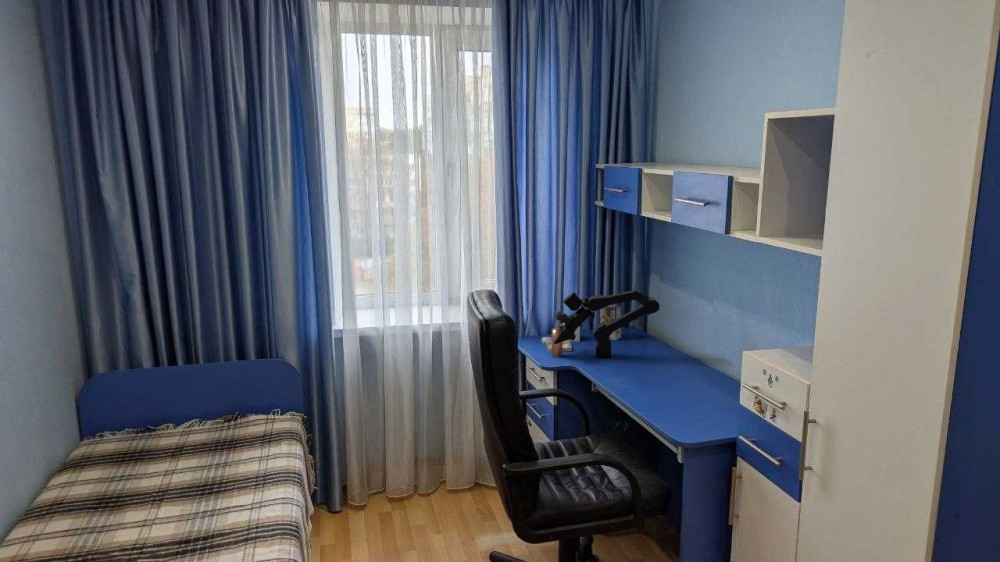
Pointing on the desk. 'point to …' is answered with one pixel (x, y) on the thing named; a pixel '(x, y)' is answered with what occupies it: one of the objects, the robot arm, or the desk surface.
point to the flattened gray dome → (546, 339)
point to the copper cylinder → (556, 347)
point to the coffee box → (611, 318)
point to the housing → (576, 334)
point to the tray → (565, 346)
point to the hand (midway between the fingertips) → (553, 341)
